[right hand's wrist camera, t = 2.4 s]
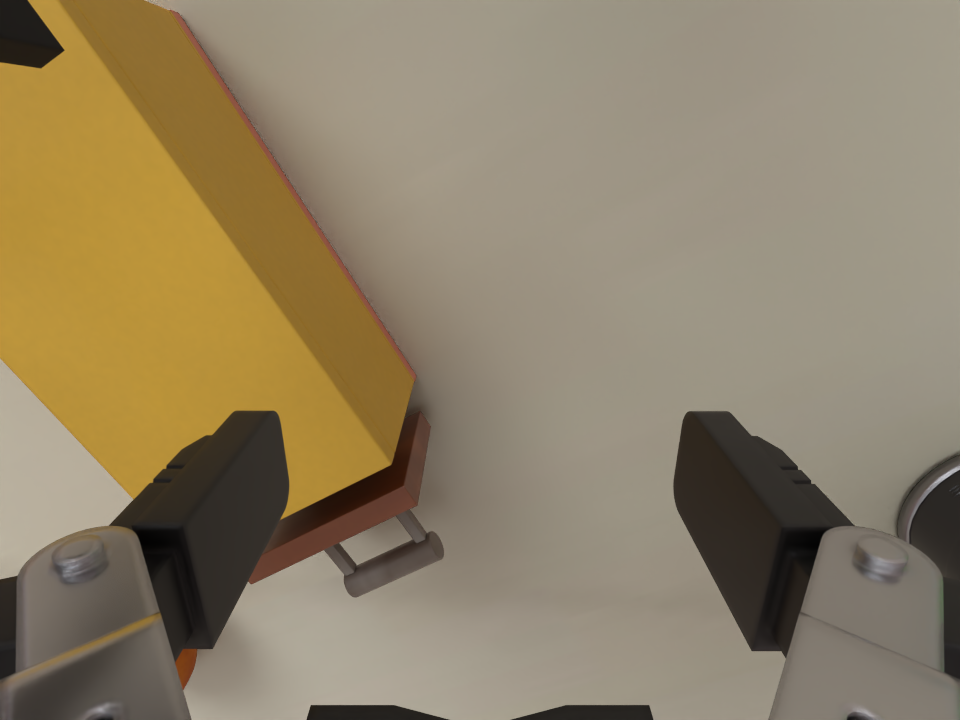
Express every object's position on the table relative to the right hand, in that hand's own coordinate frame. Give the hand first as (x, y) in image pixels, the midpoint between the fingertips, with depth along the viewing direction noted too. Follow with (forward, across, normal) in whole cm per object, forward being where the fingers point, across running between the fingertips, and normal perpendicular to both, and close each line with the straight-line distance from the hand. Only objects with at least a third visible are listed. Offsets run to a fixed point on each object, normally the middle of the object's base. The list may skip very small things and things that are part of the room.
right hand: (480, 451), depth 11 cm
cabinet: (+20, +13, 0) cm, 24 cm away
